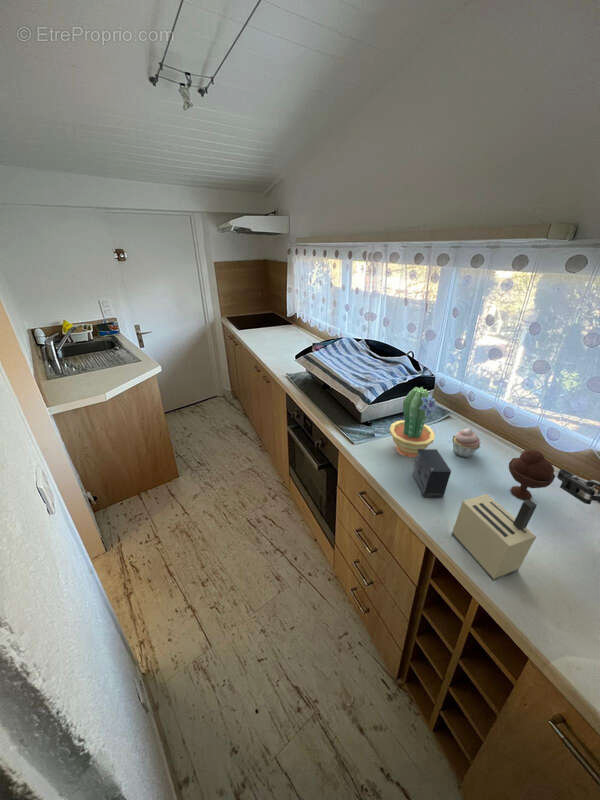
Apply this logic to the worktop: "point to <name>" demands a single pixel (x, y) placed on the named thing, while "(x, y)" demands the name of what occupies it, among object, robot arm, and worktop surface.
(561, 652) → the worktop surface
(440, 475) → the small box
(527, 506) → the slider
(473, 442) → the cupcake
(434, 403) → the potted cactus
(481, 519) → the toaster
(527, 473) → the ice cream bowl
